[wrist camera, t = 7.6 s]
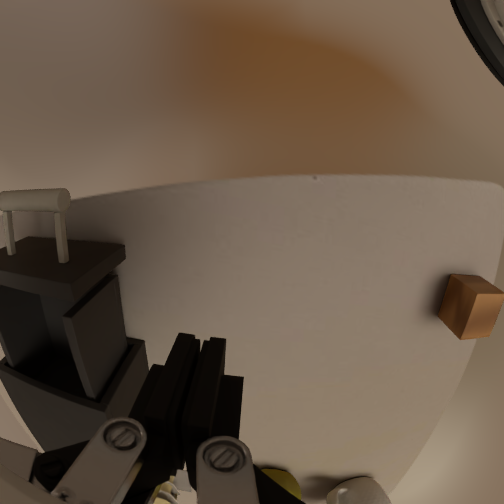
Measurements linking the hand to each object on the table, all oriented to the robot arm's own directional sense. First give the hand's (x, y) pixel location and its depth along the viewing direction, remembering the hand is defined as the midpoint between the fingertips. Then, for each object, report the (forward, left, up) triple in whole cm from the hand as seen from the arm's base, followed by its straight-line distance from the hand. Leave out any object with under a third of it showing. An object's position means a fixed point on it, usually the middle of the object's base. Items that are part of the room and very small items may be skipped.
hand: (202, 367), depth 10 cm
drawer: (+4, -14, -12) cm, 19 cm away
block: (+2, +22, -13) cm, 26 cm away
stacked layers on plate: (+38, -10, -13) cm, 42 cm away
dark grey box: (+16, -14, -13) cm, 25 cm away
